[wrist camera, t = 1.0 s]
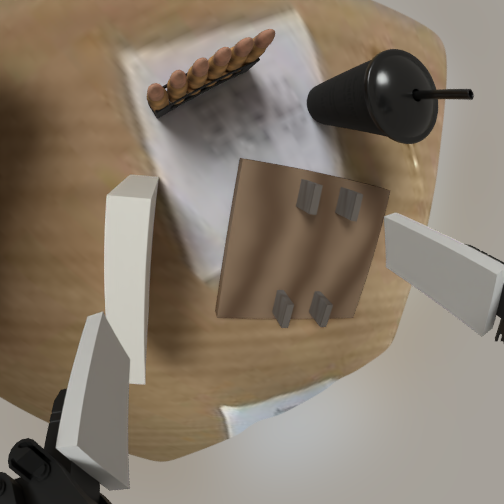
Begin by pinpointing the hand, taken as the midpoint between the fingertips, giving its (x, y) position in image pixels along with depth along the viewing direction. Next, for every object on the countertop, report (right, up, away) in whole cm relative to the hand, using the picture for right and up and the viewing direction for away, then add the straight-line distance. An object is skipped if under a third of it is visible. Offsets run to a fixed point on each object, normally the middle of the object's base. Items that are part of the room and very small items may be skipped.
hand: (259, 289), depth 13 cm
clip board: (+6, +2, +24) cm, 25 cm away
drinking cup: (+8, +18, +18) cm, 27 cm away
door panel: (-13, +2, +19) cm, 23 cm away
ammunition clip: (-6, +18, +15) cm, 24 cm away
